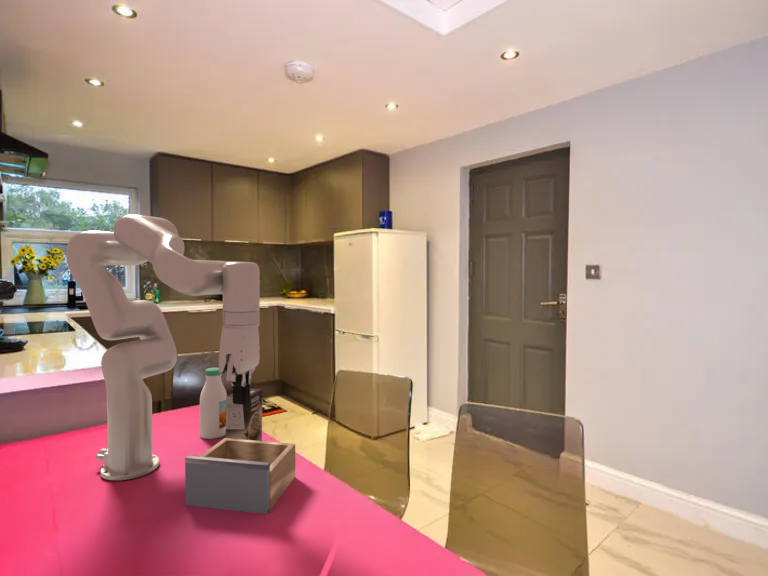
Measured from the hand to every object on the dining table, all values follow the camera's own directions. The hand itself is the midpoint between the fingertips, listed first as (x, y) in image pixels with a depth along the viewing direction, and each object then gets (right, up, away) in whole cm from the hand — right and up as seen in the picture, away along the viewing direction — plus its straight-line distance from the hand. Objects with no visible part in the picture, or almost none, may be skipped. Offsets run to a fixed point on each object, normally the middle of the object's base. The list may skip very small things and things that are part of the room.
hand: (241, 402), depth 94 cm
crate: (0, -21, +3) cm, 21 cm away
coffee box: (-8, -20, +25) cm, 33 cm away
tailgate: (-1, -20, -5) cm, 21 cm away
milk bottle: (-20, -19, +36) cm, 45 cm away
